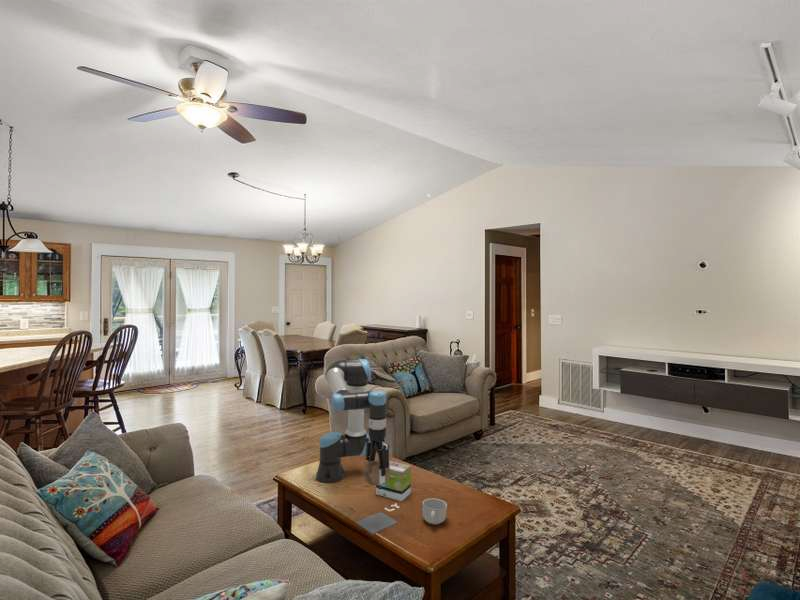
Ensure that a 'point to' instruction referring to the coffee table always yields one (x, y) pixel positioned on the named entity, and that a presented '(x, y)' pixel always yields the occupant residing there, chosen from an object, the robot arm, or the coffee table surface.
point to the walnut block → (374, 472)
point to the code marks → (392, 509)
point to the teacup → (434, 510)
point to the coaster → (376, 522)
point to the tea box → (396, 482)
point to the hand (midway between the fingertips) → (377, 480)
